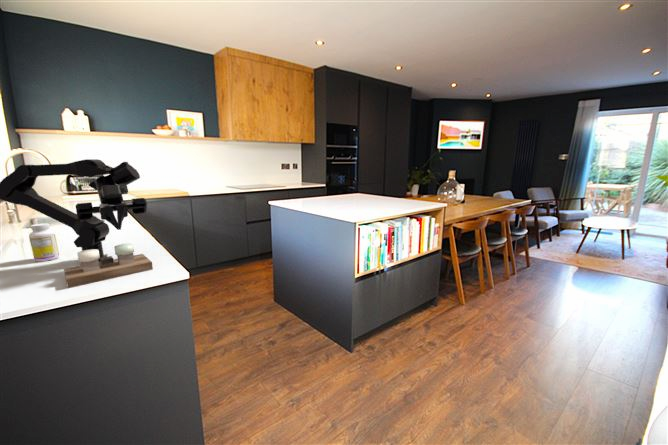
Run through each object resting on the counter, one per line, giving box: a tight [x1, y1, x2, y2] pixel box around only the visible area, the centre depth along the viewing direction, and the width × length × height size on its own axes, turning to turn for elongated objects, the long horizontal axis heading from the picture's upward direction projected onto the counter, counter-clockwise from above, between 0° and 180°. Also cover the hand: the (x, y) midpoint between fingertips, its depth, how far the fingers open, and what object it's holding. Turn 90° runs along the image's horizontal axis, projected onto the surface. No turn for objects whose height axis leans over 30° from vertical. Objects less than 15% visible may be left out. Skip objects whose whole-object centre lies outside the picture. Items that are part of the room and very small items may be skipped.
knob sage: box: [113, 243, 135, 256], centre depth 97 cm, size 5×5×6 cm
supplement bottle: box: [28, 222, 60, 262], centre depth 107 cm, size 7×7×13 cm
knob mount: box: [63, 252, 154, 289], centre depth 95 cm, size 12×21×6 cm, turn 134°
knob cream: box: [76, 249, 100, 263], centre depth 91 cm, size 5×5×6 cm
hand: (119, 228), depth 96 cm, fingers closed
